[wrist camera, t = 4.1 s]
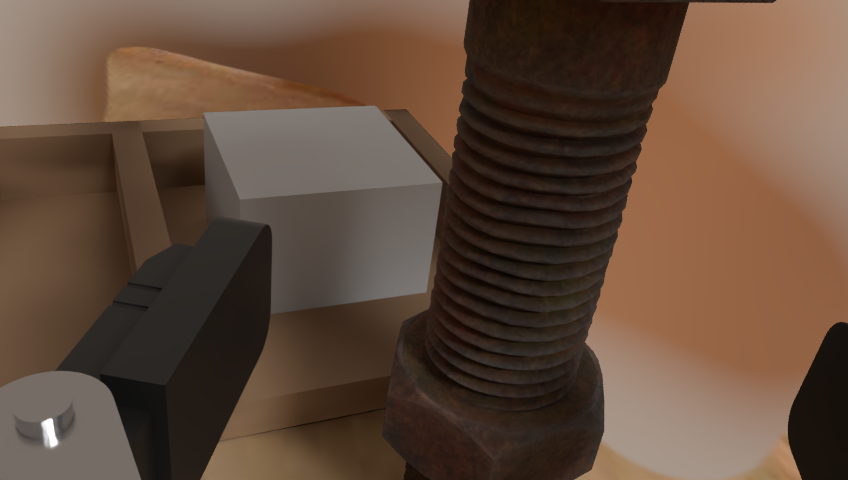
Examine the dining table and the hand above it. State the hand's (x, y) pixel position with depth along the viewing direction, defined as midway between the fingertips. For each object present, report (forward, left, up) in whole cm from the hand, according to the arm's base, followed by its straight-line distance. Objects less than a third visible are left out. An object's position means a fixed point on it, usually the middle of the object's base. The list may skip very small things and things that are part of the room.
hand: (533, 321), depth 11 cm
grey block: (-1, -14, -8) cm, 16 cm away
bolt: (-2, -3, -9) cm, 10 cm away
